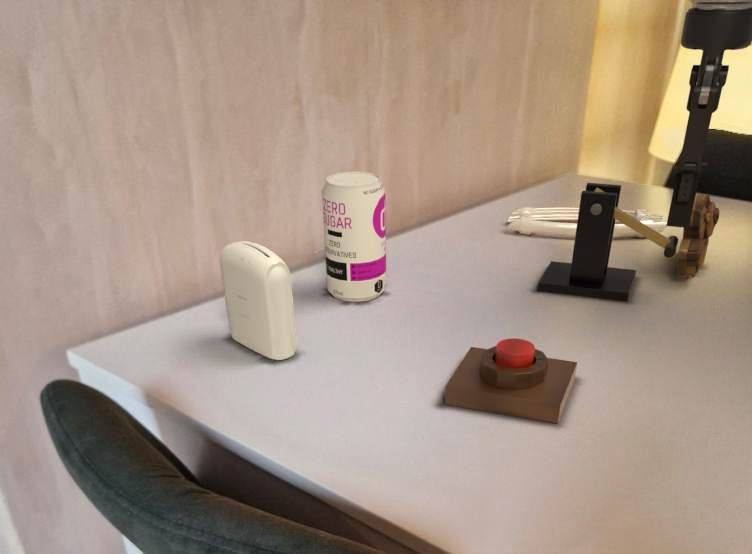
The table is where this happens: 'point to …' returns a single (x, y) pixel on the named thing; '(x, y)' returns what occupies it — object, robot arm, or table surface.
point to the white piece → (527, 223)
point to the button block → (511, 385)
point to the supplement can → (355, 235)
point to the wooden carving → (697, 236)
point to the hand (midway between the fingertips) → (677, 225)
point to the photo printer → (259, 299)
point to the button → (514, 353)
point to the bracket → (592, 252)
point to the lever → (647, 231)
